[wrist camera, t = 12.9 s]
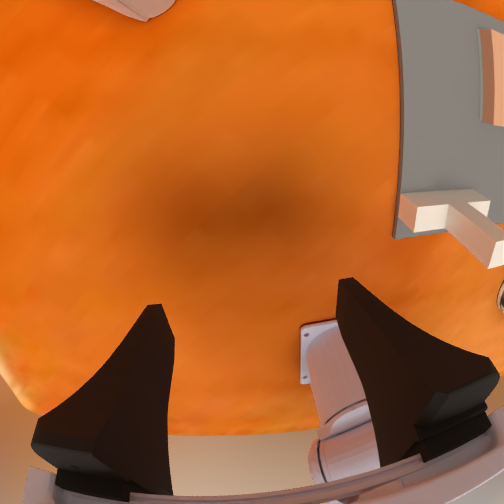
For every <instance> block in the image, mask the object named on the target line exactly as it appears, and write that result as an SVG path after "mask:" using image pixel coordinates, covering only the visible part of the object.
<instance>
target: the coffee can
mask: <svg viewBox="0 0 504 504" xmlns="http://www.w3.org/2000/svg"><path fill="white" fill-rule="evenodd" d="M497 305H498V308H499V309H500V310H501V311H502V312H503V313H504V282H503V284H502V286H501V288H500V290H499V294H498V298H497Z"/></svg>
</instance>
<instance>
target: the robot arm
mask: <svg viewBox="0 0 504 504" xmlns="http://www.w3.org/2000/svg"><path fill="white" fill-rule="evenodd" d="M336 319H337V320H332V321H326V322H321V323H315V324H309V325H305V326H303V327H302V328H301V349H300V382H301V384H309V383H310V386H311V390H312V394H313V398H314V402H315V406H316V410H317V414H318V418H319V422H320V424H321V427H319V428H317V431H318V435H319V439H316V440H315V441H314V442H313V443H312V445H311V448H310V451H309V455H308V461H309V462H308V463H309V469H310V473H311V477H312V479H313V482H314V484H315V485H311V486H306V487H300V488H294V489H288V490H281V491H273V492H265V493H256V494H246V495H245V494H244V495H231V496H230V495H229V496H173V490H172V484H171V475H170V466H169V455H168V425H167V414H168V402H169V394H170V387H171V380H172V373H173V365H174V349H175V338H174V335H173V333H172V330H171V328H170V325H169V323H168V320H167V318H166V315H165V312H164V310H163V307H162V304H154V305H147V307H146V308H145V309H144V311H143V312H142V314H141V315H140V316H139V318H138V319H137V321H136V322H135V324H134V325H133V327H132V328H131V330H130V331H129V332H128V334H127V335H126V337H125V338H124V339H123V341H122V342H121V344H120V345H119V346H118V347H117V349H116V350H115V351H114V353H113V354H112V355H111V357H110V358H109V359H108V360H107V361H106V363H105V364H104V365H103V366H102V367H101V368H100V369H99V370H98V371H97V372H96V373H95V375H94V376H93V377H92V378H91V379H89V380H88V381H87V382H86V383H85V384H84V385H83V386H82V387H81V388H80V389H79V390H78V391H76V392H75V393H74V394H73V395H72V396H70V397H69V398H68V399H67V400H65V401H64V402H63V403H61V404H60V405H59V406H57V407H56V408H54V409H53V410H51V411H50V412H48V413H46V414H45V415H43V416H42V417H40V418H39V419H38V421H37V425H36V428H35V431H34V435H33V438H32V442H31V447H32V449H33V450H34V452H36V454H38V455H39V456H40V457H42V458H43V459H44V460H46V461H47V462H49V463H50V464H52V465H53V466H55V467H56V468H58V470H57V475H56V474H54V473H52V472H49V471H46V470H42V469H39V468H36V467H32V466H30V467H29V470H28V474H27V479H26V484H25V489H24V494H23V500H22V504H320V503H325V502H327V504H449V503H451V502H452V501H454V500H456V499H458V498H460V497H462V496H463V495H465V494H467V493H469V492H470V491H472V490H474V489H476V488H477V487H479V486H480V485H482V484H484V483H485V482H487V481H488V480H490V479H491V478H493V477H494V476H496V475H497V474H499V473H500V472H502V471H503V470H504V406H502V407H500V408H499V409H497V410H495V411H494V412H493V413H491V414H490V415H489V416H488V417H487V415H486V413H485V411H486V410H487V405H486V403H485V399H486V398H487V397H488V396H489V395H490V393H491V392H492V390H493V389H494V388H495V387H496V385H497V383H498V381H499V378H500V375H499V373H498V371H497V369H496V368H495V366H494V365H493V363H492V362H491V360H490V359H489V358H488V357H485V356H482V355H478V354H475V353H472V352H468V351H466V350H463V349H460V348H458V347H455V346H453V345H451V344H448V343H446V342H444V341H442V340H440V339H438V338H436V337H434V336H432V335H430V334H428V333H426V332H424V331H423V330H421V329H420V328H418V327H416V326H415V325H413V324H411V323H410V322H408V321H407V320H405V319H404V318H403V317H401V316H400V315H398V314H397V313H396V312H394V311H393V310H392V309H390V308H389V307H388V306H386V305H385V304H384V303H383V302H381V301H380V300H379V299H378V298H377V297H375V296H374V295H373V294H372V293H371V292H369V291H368V290H367V289H366V288H365V287H364V286H362V285H361V284H360V283H359V282H358V281H357V280H355V279H354V278H353V277H352V278H346V279H340V280H339V283H338V295H337V307H336ZM306 333H307V334H306Z"/></svg>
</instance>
